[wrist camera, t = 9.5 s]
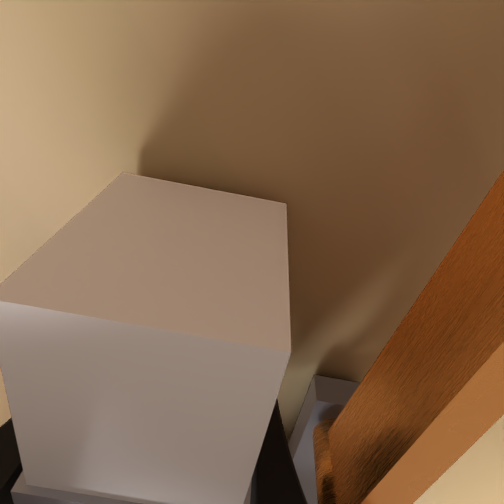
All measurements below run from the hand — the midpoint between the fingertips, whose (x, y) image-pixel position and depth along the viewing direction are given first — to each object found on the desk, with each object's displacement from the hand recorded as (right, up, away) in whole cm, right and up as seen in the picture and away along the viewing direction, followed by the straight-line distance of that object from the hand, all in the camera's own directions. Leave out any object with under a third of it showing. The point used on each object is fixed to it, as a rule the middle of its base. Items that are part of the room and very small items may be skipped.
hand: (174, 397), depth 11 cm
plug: (+1, +3, 0) cm, 3 cm away
